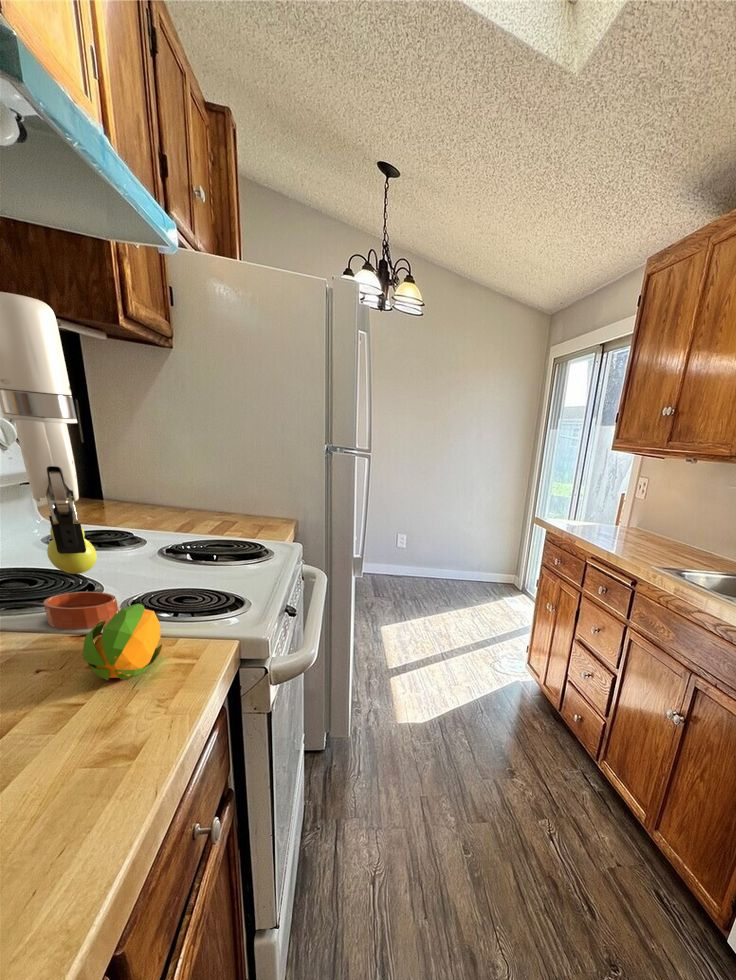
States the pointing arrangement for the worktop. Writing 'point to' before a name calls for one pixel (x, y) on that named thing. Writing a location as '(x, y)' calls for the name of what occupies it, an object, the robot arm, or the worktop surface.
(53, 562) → the pear
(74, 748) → the worktop surface
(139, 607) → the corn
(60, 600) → the bowl
